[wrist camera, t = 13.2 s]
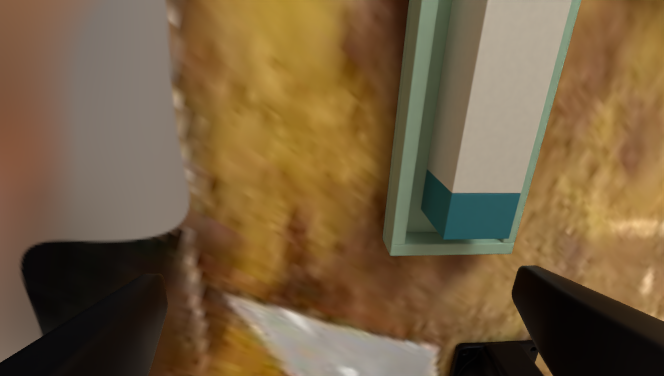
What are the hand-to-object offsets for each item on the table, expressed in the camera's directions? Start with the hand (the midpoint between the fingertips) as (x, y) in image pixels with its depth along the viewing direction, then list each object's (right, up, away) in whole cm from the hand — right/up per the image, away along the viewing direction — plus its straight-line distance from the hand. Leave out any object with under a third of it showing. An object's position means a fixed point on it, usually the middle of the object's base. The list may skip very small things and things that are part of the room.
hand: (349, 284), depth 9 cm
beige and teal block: (+7, +7, +10) cm, 14 cm away
